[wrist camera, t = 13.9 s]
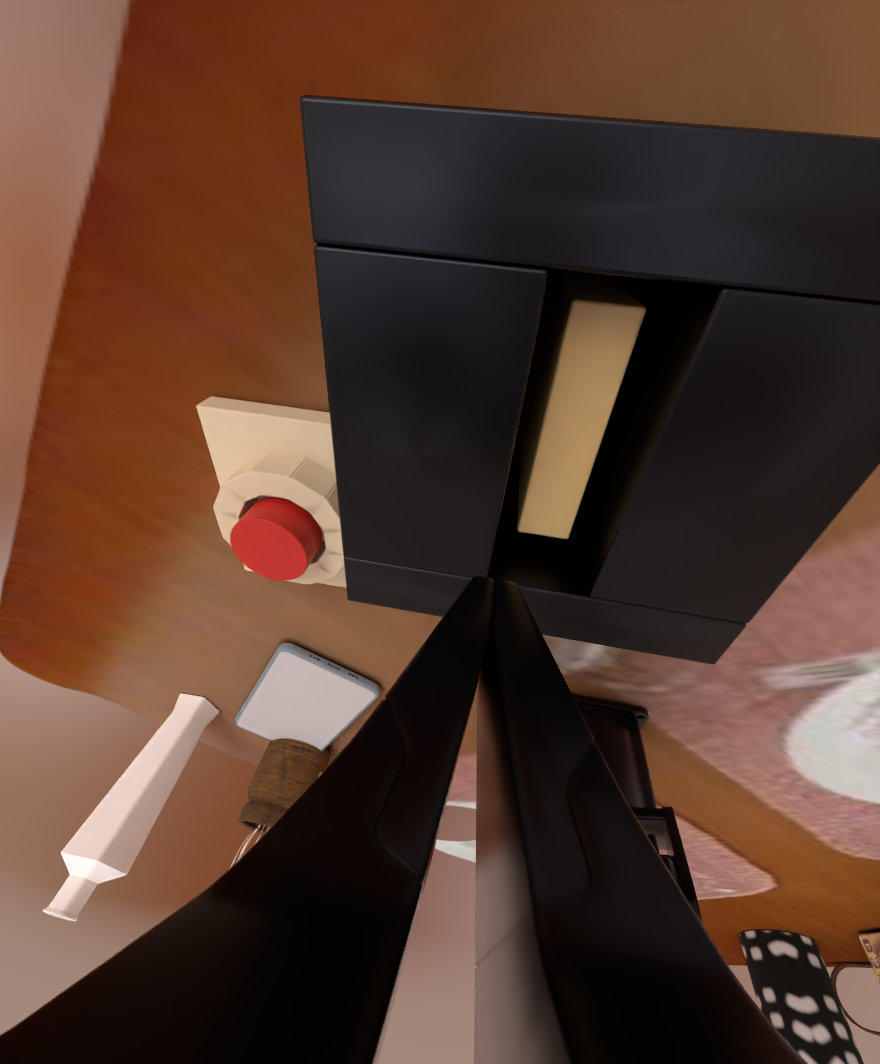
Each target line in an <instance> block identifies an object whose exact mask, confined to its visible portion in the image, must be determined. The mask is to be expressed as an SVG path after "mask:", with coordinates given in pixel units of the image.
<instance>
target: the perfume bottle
mask: <svg viewBox="0 0 880 1064" xmlns="http://www.w3.org/2000/svg"><path fill="white" fill-rule="evenodd" d="M218 713H219V710H218V709H216V708H215V707H214V706H213V705H212V704H211V703H210V702H209V701H208V700H207V699H206V698H204V697H200V696H194V695H188V694H182V693H181V694H180V695H179V697H178V700H177V702H176V705H175V707H174V710H173V712H172V713H171V714H170V716H169V717H168V718H167V719H166V721H165V722H164V723H163V724H162V726H161V727H160V729H159V730H158V731H157V732H156V733H155V735H154V736H153V737H152V738H151V740H150V741H149V742H148V743H147V745H146V746H145V747H144V748H143V750H142V751H141V752H140V753H139V755H138V756H137V757H136V758H135V760H134V761H133V762H132V763H131V765H130V766H129V767H128V769H127V770H126V771H125V772H124V774H123V775H122V776H121V777H120V779H119V780H118V781H117V782H116V784H115V785H114V786H113V787H112V789H111V790H110V791H109V792H108V794H107V795H106V796H105V798H104V799H103V800H102V801H101V802H100V804H99V805H98V806H97V807H96V809H95V810H94V811H93V812H92V814H91V815H90V816H89V817H88V819H87V820H86V821H85V823H84V824H83V825H82V826H81V828H80V829H79V830H78V831H77V833H76V834H75V835H74V837H73V838H72V839H71V840H70V841H69V843H68V844H67V845H66V846H65V848H64V849H63V850H62V851H61V855H62V857H63V859H64V862H65V864H66V866H67V869H68V871H69V873H70V876H69V877H68V879H67V880H66V882H65V883H64V884H63V886H62V888H61V889H60V890H59V892H58V893H57V895H56V896H55V898H54V899H53V901H52V902H51V903H50V905H49V906H48V907H47V908H46V909H44V910H43V911H44V912H45V913H47V914H49V915H53V916H56V917H60V918H63V919H66V920H71V921H77V916H78V914H79V913H80V911H81V909H82V907H83V906H84V905H85V903H86V901H87V900H88V898H89V897H90V895H91V893H92V892H93V890H94V888H95V887H96V886H97V884H99V883H102V882H105V881H109V880H112V879H115V878H118V877H122V876H125V875H127V874H128V872H129V870H130V868H131V866H132V864H133V862H134V860H135V858H136V857H137V855H138V853H139V851H140V849H141V847H142V845H143V844H144V842H145V840H146V838H147V836H148V834H149V832H150V830H151V829H152V826H153V825H154V823H155V821H156V819H157V817H158V815H159V813H160V812H161V810H162V808H163V806H164V804H165V802H166V800H167V798H168V796H169V795H170V793H171V791H172V789H173V787H174V785H175V783H176V782H177V780H178V778H179V776H180V774H181V772H182V770H183V768H184V766H185V764H186V763H187V761H188V759H189V757H190V755H191V753H192V751H193V750H194V748H195V746H196V744H197V742H198V740H199V738H200V736H201V735H202V733H203V731H204V729H205V727H206V726H207V725H208V724H209V723H210V722H211V721H212V720H213V719H214V718H215V716H216V715H217V714H218Z"/></svg>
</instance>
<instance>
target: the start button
mask: <svg viewBox="0 0 880 1064" xmlns="http://www.w3.org/2000/svg"><path fill="white" fill-rule="evenodd" d="M230 542H231V546H232V549H233V551H234V552H235V554H236V555H237V557H238V558H239V559H240V561H241V562H242V563H243V564H245V565H246V566H247V567H248V568H250V569H251V570H252V571H254V572H256V573H258V574H260V575H262V576H264V577H267V578H270V579H274V580H281V581H286V580H293V579H296V578H298V577H300V576H301V575H302V574H303V573H304V572H305V571H306V569H307V568H308V566H309V564H310V563H311V561H312V559H313V558H314V556H315V555H316V553H317V551H318V550H319V548H320V546H321V543H322V533H321V529H320V527H319V525H318V523H317V522H316V520H315V519H314V518H313V516H312V515H311V514H310V513H309V512H308V511H307V510H305V509H304V508H302V507H300V506H299V505H297V504H295V503H294V502H292V501H290V500H287V499H284V498H278V497H269V498H264V499H261V500H259V501H257V502H256V503H255V504H254V505H253V506H252V507H251V508H250V509H249V510H248V511H247V512H246V513H245V515H244V516H243V517H242V518H241V519H240V520H239V521H238V522H237V523H236V524H235V526H234V527H233V528H232V530H231V534H230Z"/></svg>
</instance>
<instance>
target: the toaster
mask: <svg viewBox="0 0 880 1064" xmlns="http://www.w3.org/2000/svg"><path fill="white" fill-rule="evenodd" d="M300 107H301V118H302V128H303V139H304V149H305V160H306V170H307V181H308V191H309V202H310V212H311V223H312V233H313V240H314V242H315V243H317V244H318V245H316V246H315V248H314V254H315V264H316V275H317V285H318V296H319V306H320V317H321V327H322V338H323V348H324V359H325V369H326V380H327V390H328V401H329V411H330V422H331V432H332V443H333V453H334V464H335V474H336V484H337V495H338V505H339V516H340V526H341V537H342V547H343V555H344V568H345V578H346V589H347V599H348V600H350V601H356V602H361V603H367V604H373V605H378V606H384V607H390V608H395V609H401V610H407V611H412V612H418V613H424V614H429V615H435V616H441V617H444V616H445V614H446V613H447V612H448V610H449V609H450V607H451V606H452V605H453V603H454V602H455V601H456V599H457V598H458V597H459V595H460V594H461V593H462V591H463V590H464V588H465V587H466V586H467V584H468V583H469V582H470V580H471V579H472V578H473V577H474V576H483V577H488V578H492V579H493V580H494V582H495V581H496V580H497V579H499V580H505V581H511V582H514V583H516V584H517V586H518V588H519V590H520V592H521V594H522V596H523V598H524V600H525V602H526V604H527V606H528V608H529V610H530V612H531V614H532V616H533V618H534V620H535V622H536V624H537V626H538V628H539V630H540V632H541V634H543V635H549V636H554V637H560V638H566V639H571V640H577V641H583V642H588V643H594V644H600V645H605V646H611V647H617V648H622V649H628V650H634V651H639V652H645V653H651V654H656V655H662V656H668V657H673V658H679V659H685V660H690V661H696V662H702V663H707V664H715V663H716V662H717V661H718V660H719V658H720V657H721V656H722V655H723V653H724V652H725V651H726V650H727V649H728V647H729V646H730V645H731V644H732V643H733V641H734V640H735V639H736V638H737V636H738V635H739V634H740V633H741V632H742V630H743V629H744V628H745V627H746V623H749V622H750V621H751V620H752V618H753V617H754V616H755V615H756V614H757V612H758V611H759V610H760V609H761V607H762V606H763V605H764V604H765V603H766V601H767V600H768V599H769V598H770V597H771V595H772V594H773V593H774V592H775V590H776V589H777V588H778V587H779V586H780V584H781V583H782V582H783V581H784V580H785V578H786V577H787V576H788V575H789V573H790V572H791V571H792V570H793V569H794V567H795V566H796V565H797V564H798V562H799V561H800V560H801V559H802V558H803V556H804V555H805V554H806V553H807V552H808V550H809V549H810V548H811V547H812V545H813V544H814V543H815V542H816V541H817V539H818V538H819V537H820V536H821V535H822V533H823V532H824V531H825V530H826V528H827V527H828V526H829V525H830V524H831V522H832V521H833V520H834V519H835V518H836V516H837V515H838V514H839V513H840V511H841V510H842V509H843V508H844V507H845V505H846V504H847V503H848V502H849V500H850V499H851V498H852V497H853V496H854V494H855V493H856V492H857V491H858V490H859V488H860V487H861V486H862V485H863V483H864V482H865V481H866V480H867V479H868V477H869V476H870V475H871V474H872V473H873V471H874V470H875V469H876V468H877V466H878V465H879V464H880V138H877V137H864V136H850V135H837V134H824V133H810V132H797V131H783V130H770V129H756V128H743V127H730V126H716V125H703V124H689V123H676V122H663V121H649V120H636V119H622V118H609V117H595V116H582V115H569V114H555V113H542V112H528V111H515V110H501V109H488V108H475V107H461V106H448V105H434V104H421V103H408V102H394V101H381V100H367V99H354V98H340V97H327V96H314V95H304V96H302V97H301V98H300ZM548 268H550V269H560V270H569V271H579V272H588V273H598V274H607V275H617V276H625V280H624V283H623V286H622V288H624V289H625V290H626V291H627V292H628V293H629V294H630V295H632V296H633V297H634V298H635V299H636V300H637V301H638V302H640V303H641V304H642V305H643V306H644V307H645V308H646V312H645V315H644V318H643V321H642V324H641V327H640V330H639V333H638V336H637V339H636V342H635V345H634V347H633V350H632V353H631V356H630V359H629V362H628V365H627V368H626V371H625V374H624V377H623V380H622V383H621V386H620V389H619V392H618V394H617V397H616V400H615V403H614V406H613V409H612V412H611V415H610V418H609V421H608V424H607V427H606V430H605V433H604V436H603V438H602V441H601V444H600V447H599V450H598V453H597V456H596V459H595V462H594V465H593V468H592V471H591V474H590V477H589V480H588V483H587V485H586V488H585V491H584V494H583V497H582V500H581V503H580V506H579V509H578V512H577V515H576V518H575V521H574V524H573V527H572V530H571V532H570V535H569V538H568V539H562V538H556V537H549V536H543V535H537V534H530V533H524V532H519V531H518V497H519V466H520V460H513V459H512V455H513V450H514V445H515V440H516V435H517V430H518V425H519V420H520V415H521V410H522V405H523V400H524V395H525V390H526V385H527V380H528V375H529V370H530V365H531V360H532V356H533V351H534V346H535V341H536V336H537V331H538V326H539V321H540V316H541V311H542V306H543V301H544V296H545V291H546V286H547V281H548V276H549V273H548Z"/></svg>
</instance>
